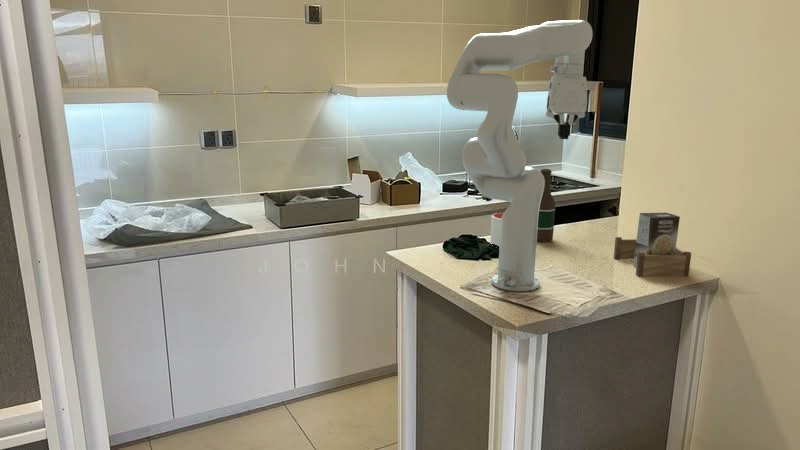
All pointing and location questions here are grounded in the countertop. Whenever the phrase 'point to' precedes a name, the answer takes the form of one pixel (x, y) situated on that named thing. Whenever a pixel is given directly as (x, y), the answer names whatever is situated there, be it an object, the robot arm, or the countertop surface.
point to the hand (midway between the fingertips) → (563, 138)
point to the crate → (653, 260)
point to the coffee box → (656, 234)
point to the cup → (496, 228)
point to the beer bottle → (546, 211)
